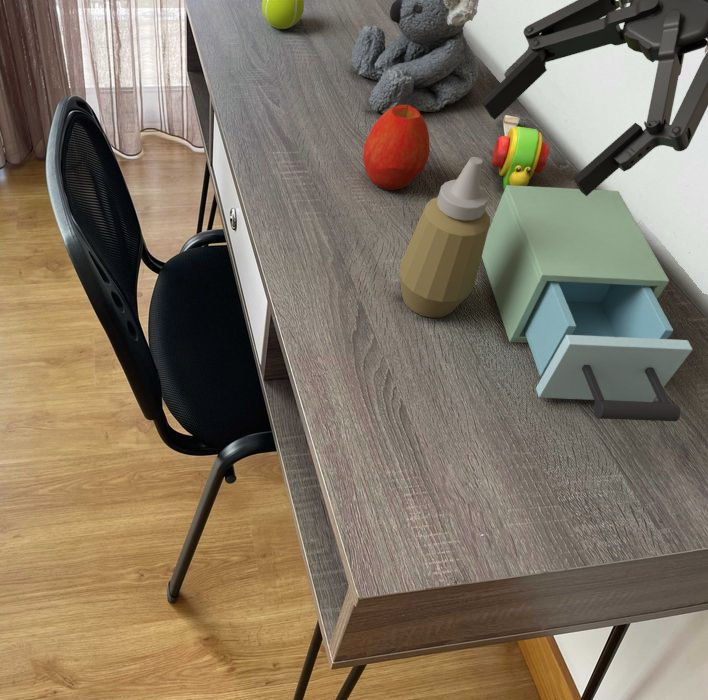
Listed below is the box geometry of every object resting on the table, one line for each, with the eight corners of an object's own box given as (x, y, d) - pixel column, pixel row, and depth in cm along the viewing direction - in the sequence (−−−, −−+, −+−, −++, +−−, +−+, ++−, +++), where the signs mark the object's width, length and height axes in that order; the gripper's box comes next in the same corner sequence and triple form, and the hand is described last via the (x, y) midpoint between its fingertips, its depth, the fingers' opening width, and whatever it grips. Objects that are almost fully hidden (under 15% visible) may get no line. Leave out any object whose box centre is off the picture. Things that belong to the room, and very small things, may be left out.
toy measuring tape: (487, 196, 95) (504, 152, 90) (488, 119, 108) (502, 77, 103) (537, 205, 95) (557, 161, 90) (532, 127, 107) (548, 85, 103)
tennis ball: (257, 32, 122) (260, -11, 117) (263, 15, 127) (267, -28, 122) (298, 38, 122) (303, -5, 117) (303, 20, 127) (308, -22, 121)
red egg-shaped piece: (431, 195, 95) (454, 120, 87) (373, 203, 93) (391, 128, 85) (403, 159, 100) (422, 85, 92) (347, 167, 98) (362, 92, 90)
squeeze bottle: (388, 273, 84) (427, 133, 71) (458, 278, 84) (510, 139, 71) (395, 323, 79) (438, 182, 65) (470, 328, 79) (529, 189, 65)
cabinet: (625, 347, 78) (669, 280, 71) (509, 342, 78) (542, 274, 71) (583, 257, 88) (618, 190, 81) (479, 252, 87) (506, 184, 80)
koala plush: (344, 63, 117) (367, -71, 103) (450, 61, 120) (487, -70, 105) (374, 121, 106) (404, -20, 91) (490, 117, 109) (538, -21, 94)
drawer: (675, 451, 68) (721, 400, 62) (555, 447, 68) (589, 394, 62) (607, 305, 81) (639, 251, 75) (505, 301, 81) (530, 246, 75)
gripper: (859, 55, 59) (634, 242, 65) (634, -59, 73) (468, 103, 80) (862, -6, 53) (615, 205, 60) (617, -116, 68) (441, 63, 74)
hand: (530, 147), depth 70 cm, fingers open, 13 cm apart
